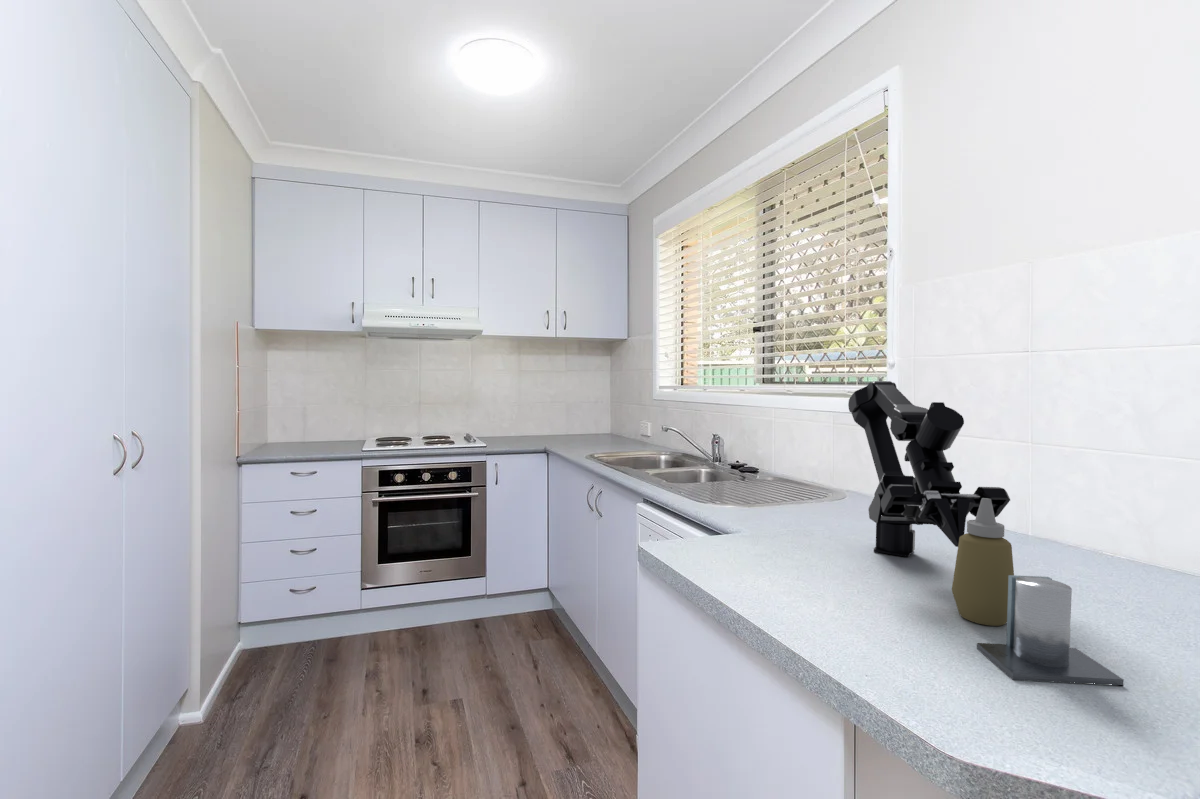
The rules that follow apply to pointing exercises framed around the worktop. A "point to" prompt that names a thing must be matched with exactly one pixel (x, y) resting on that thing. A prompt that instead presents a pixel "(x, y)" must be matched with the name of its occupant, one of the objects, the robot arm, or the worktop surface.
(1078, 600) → the worktop surface
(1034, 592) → the bookend
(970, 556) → the squeeze bottle
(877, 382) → the robot arm
